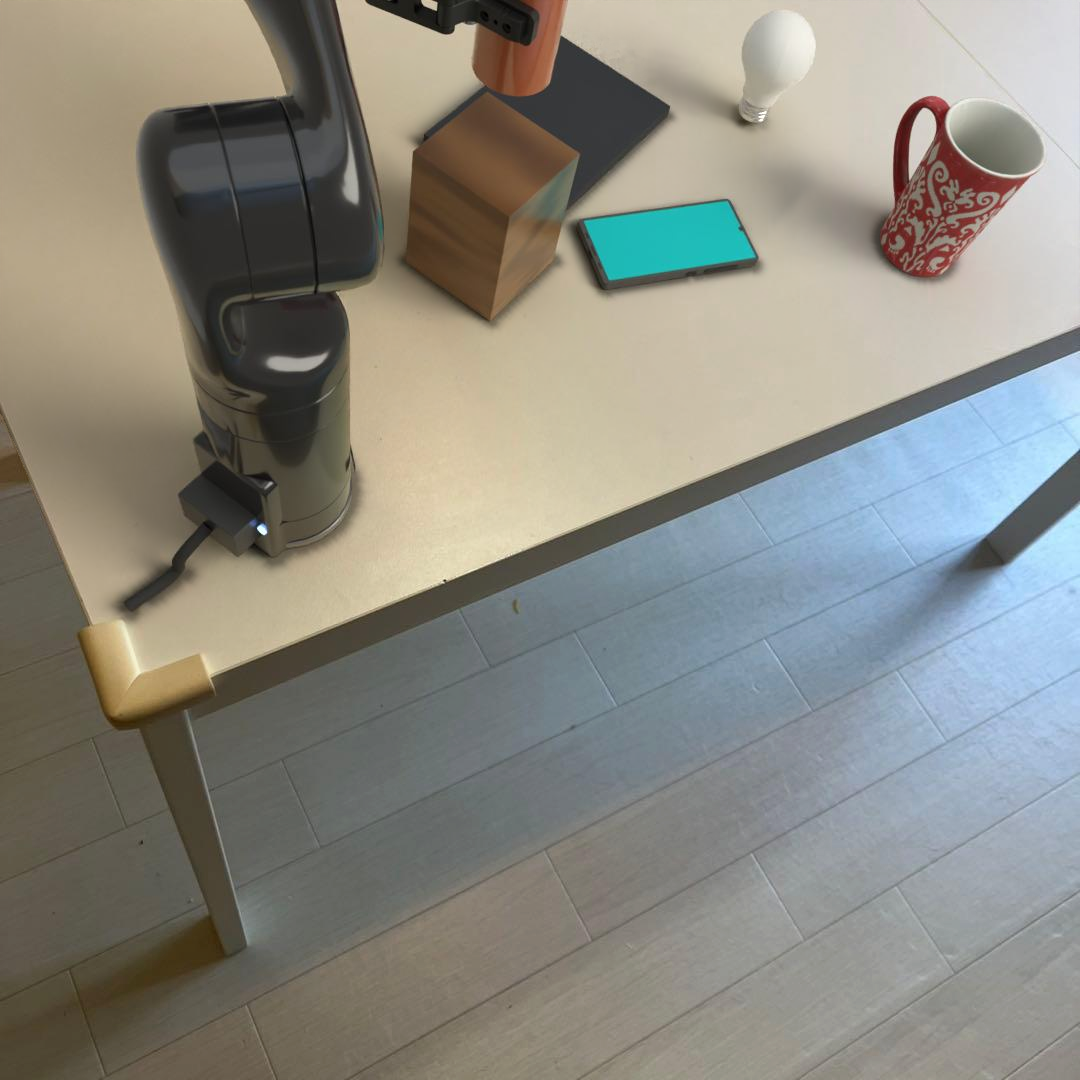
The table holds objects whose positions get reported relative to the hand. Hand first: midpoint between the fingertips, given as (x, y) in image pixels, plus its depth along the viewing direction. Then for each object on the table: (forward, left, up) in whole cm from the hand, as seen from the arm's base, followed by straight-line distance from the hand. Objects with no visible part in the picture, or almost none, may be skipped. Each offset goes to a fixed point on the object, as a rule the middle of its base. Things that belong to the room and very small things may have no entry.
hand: (559, 4), depth 64 cm
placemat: (+16, +7, -25) cm, 31 cm away
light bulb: (+32, -6, -25) cm, 42 cm away
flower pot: (0, +2, -6) cm, 6 cm away
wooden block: (-1, +2, -25) cm, 25 cm away
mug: (+30, -25, -25) cm, 47 cm away
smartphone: (+12, -9, -25) cm, 29 cm away
